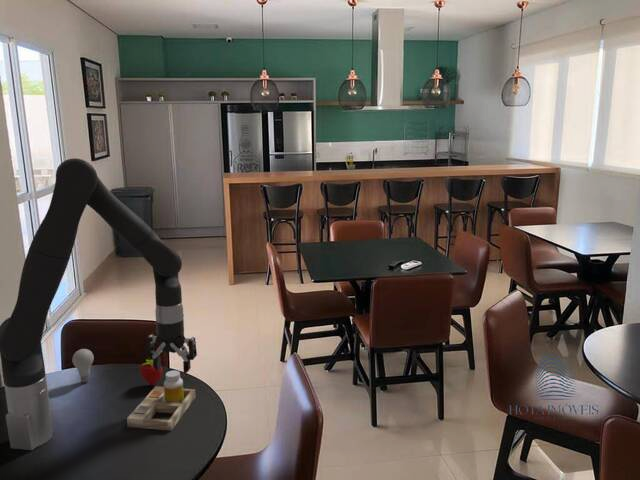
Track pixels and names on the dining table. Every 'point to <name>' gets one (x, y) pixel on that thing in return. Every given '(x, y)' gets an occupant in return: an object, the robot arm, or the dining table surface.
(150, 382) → the strawberry
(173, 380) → the supplement bottle
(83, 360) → the lightbulb
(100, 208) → the robot arm
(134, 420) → the socket plate
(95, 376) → the dining table surface
